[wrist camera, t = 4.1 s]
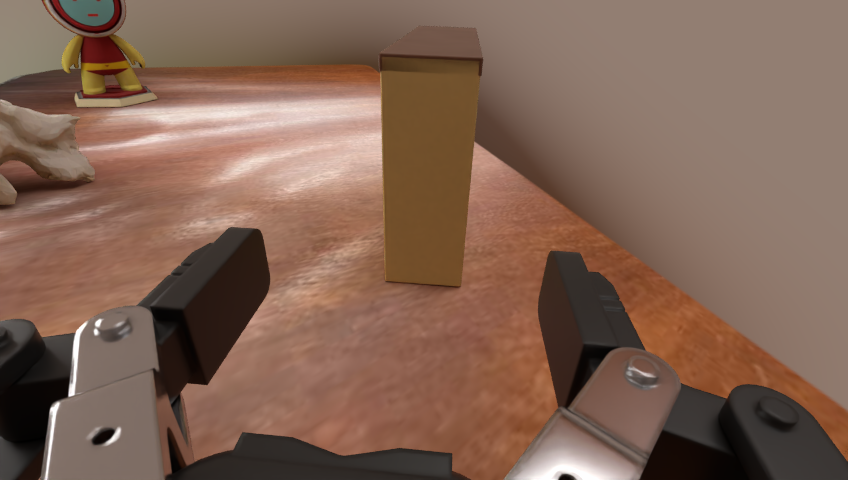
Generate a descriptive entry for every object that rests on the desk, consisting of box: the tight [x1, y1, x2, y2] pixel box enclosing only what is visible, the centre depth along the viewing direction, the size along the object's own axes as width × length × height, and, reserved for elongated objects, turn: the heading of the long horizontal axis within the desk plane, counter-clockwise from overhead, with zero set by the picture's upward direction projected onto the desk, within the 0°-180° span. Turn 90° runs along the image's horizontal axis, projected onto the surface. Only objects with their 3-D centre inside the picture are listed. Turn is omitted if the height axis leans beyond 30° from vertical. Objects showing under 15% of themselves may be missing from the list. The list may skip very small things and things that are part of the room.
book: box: [379, 26, 483, 287], centre depth 26 cm, size 16×4×11 cm, turn 175°
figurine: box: [42, 0, 158, 107], centre depth 51 cm, size 9×10×15 cm
